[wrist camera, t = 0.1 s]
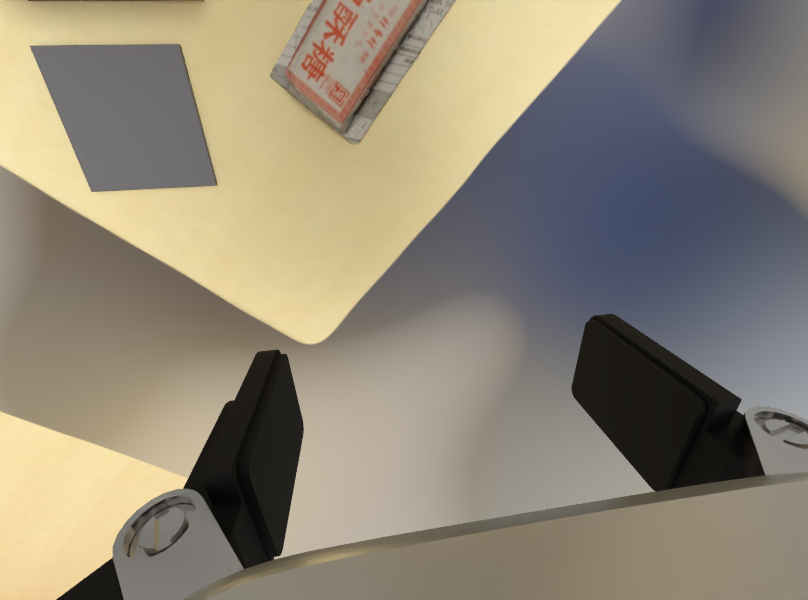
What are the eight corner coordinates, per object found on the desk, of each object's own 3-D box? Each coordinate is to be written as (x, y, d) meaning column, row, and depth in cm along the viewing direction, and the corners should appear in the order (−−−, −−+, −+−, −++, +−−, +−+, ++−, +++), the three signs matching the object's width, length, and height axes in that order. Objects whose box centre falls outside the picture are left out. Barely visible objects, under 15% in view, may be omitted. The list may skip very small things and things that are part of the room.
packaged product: (356, 149, 32) (258, 68, 28) (356, 148, 36) (271, 78, 32) (485, -43, 27) (387, -169, 23) (467, -18, 31) (382, -121, 28)
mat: (33, 46, 29) (29, 45, 29) (180, 45, 30) (178, 44, 30) (94, 191, 34) (91, 191, 34) (217, 185, 35) (216, 185, 35)
